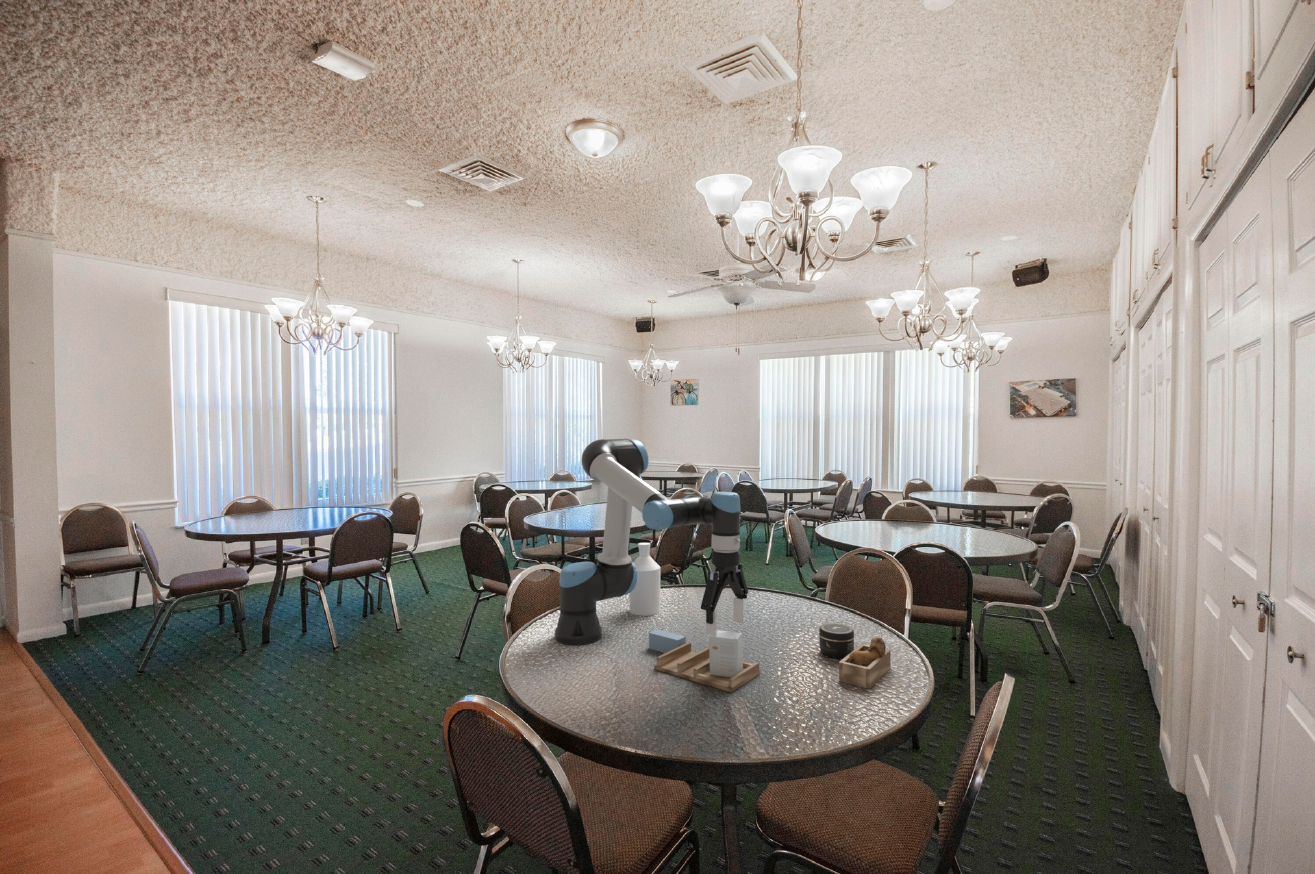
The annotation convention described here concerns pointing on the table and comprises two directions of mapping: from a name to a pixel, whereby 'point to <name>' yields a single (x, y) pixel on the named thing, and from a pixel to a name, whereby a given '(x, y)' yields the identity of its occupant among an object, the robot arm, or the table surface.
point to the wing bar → (665, 640)
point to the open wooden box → (864, 669)
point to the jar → (836, 640)
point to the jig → (702, 668)
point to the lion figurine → (868, 653)
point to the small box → (726, 653)
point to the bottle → (645, 584)
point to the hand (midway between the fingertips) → (725, 628)
